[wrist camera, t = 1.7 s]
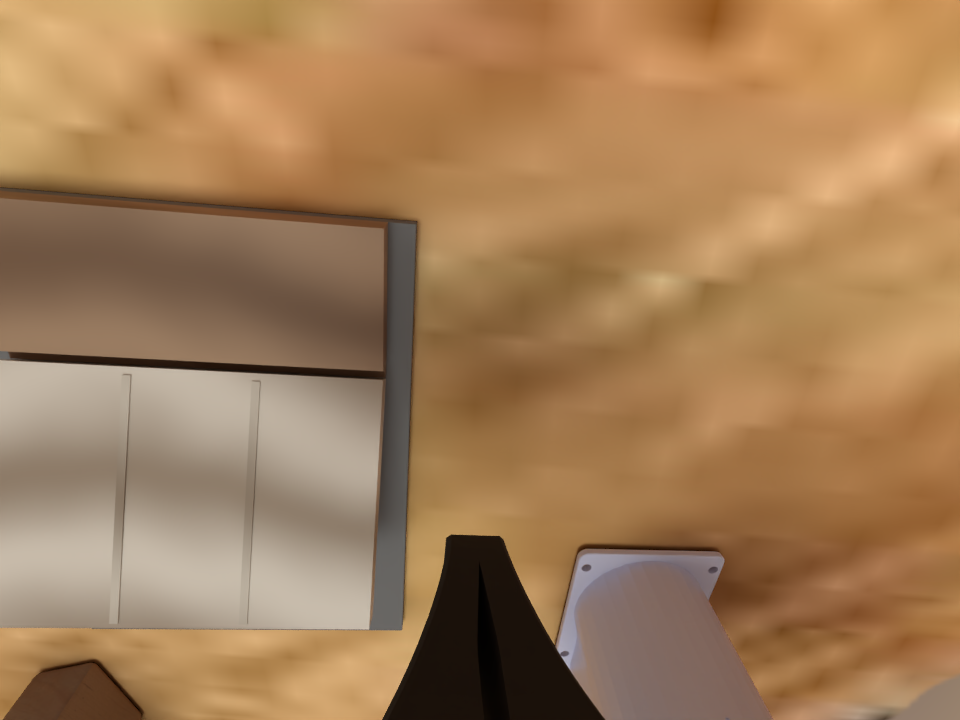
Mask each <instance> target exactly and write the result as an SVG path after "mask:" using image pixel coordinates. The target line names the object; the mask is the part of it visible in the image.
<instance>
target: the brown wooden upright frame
mask: <svg viewBox="0 0 960 720" xmlns="http://www.w3.org/2000/svg"><path fill="white" fill-rule="evenodd" d="M141 717H142V715H141V713H140V712H139V711H138V709H137V708H136V707H135V706H134V705H133V704H132V703H131V702H130V701H129V699H128V698H127V697H126V696H125V695H124V694H123V693H122V692H121V691H120V689H119V688H118V687H117V686H116V685H115V684H114V683H113V682H112V681H111V679H110V678H109V677H108V676H107V675H106V674H105V673H104V672H103V671H102V669H101V668H100V667H99V666H98V665H97V664H95V663H86V664H81V665H76V666H71V667H66V668H61V669H56V670H52V671H47V672H42V673H39V674H38V675H36V676H35V677H34V678H33V680H32V681H31V682H30V684H29V685H28V686H27V688H26V689H25V690H24V692H23V693H22V694H21V696H20V697H19V698H18V700H17V701H16V702H15V704H14V705H13V707H12V708H11V709H10V711H9V712H8V713H7V715H6V716H5V717H4V719H3V720H141Z"/></svg>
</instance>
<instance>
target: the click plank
mask: <svg viewBox="0 0 960 720" xmlns="http://www.w3.org/2000/svg"><path fill="white" fill-rule="evenodd" d="M385 387H386V378H369V377H349V376H330V375H311V374H291V373H272V372H253V371H234V370H214V369H195V368H176V367H156V366H137V365H118V364H98V363H79V362H60V361H41V360H21V359H3V360H0V628H167V629H361V630H369V628H370V624H371V619H372V615H373V603H374V585H375V567H376V549H377V531H378V513H379V495H380V477H381V459H382V441H383V423H384V405H385Z"/></svg>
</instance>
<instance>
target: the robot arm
mask: <svg viewBox="0 0 960 720" xmlns="http://www.w3.org/2000/svg"><path fill="white" fill-rule="evenodd" d="M724 561H725V560H724V558H723V556H722V555H721V553H719V552H715V551H670V550H622V549H584V550H582V551H580V552H579V553H578V555H577V559H576V563H575V567H574V572H573V576H572V580H571V584H570V588H569V592H568V597H567V601H566V605H565V609H564V613H563V617H562V622H561V626H560V630H559V634H558V638H557V642H556V647H555V645H554V644H553V642H552V640H551V639H550V637H549V635H548V634H547V632H546V630H545V628H544V627H543V625H542V623H541V621H540V619H539V618H538V616H537V614H536V612H535V610H534V608H533V606H532V604H531V602H530V600H529V598H528V596H527V594H526V592H525V590H524V588H523V586H522V584H521V582H520V580H519V577H518V575H517V573H516V571H515V569H514V566H513V564H512V561H511V559H510V556H509V554H508V551H507V549H506V546H505V543H504V540H503V539H502V538H501V537H500V536H477V535H450V536H449V537H447V538H446V547H445V558H444V565H443V569H442V573H441V577H440V581H439V585H438V588H437V591H436V595H435V598H434V601H433V604H432V607H431V610H430V613H429V616H428V619H427V621H426V624H425V627H424V629H423V632H422V634H421V637H420V640H419V642H418V645H417V647H416V650H415V652H414V654H413V657H412V659H411V661H410V664H409V666H408V668H407V670H406V672H405V675H404V677H403V679H402V681H401V683H400V685H399V687H398V690H397V692H396V693H395V695H394V697H393V699H392V701H391V703H390V705H389V707H388V709H387V711H386V713H385V715H384V717H383V719H382V720H773V718H772V716H771V714H770V713H769V711H768V709H767V707H766V705H765V703H764V702H763V700H762V698H761V696H760V694H759V692H758V691H757V689H756V687H755V685H754V683H753V681H752V680H751V678H750V676H749V674H748V672H747V670H746V669H745V667H744V665H743V663H742V661H741V659H740V658H739V656H738V654H737V652H736V650H735V648H734V647H733V645H732V643H731V641H730V639H729V637H728V636H727V634H726V632H725V630H724V628H723V626H722V625H721V623H720V621H719V619H718V617H717V615H716V614H715V612H714V610H713V608H712V606H711V604H710V603H709V601H708V600H709V598H710V596H711V593H712V591H713V589H714V586H715V584H716V581H717V579H718V577H719V574H720V572H721V569H722V567H723V565H724ZM586 564H587V565H586Z"/></svg>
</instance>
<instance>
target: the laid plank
mask: <svg viewBox="0 0 960 720" xmlns="http://www.w3.org/2000/svg"><path fill="white" fill-rule="evenodd" d="M387 261H388V222H380V221H367V220H355V219H342V218H330V217H318V216H305V215H293V214H281V213H268V212H256V211H243V210H231V209H219V208H206V207H194V206H182V205H169V204H157V203H145V202H132V201H120V200H107V199H95V198H83V197H70V196H58V195H46V194H33V193H21V192H8V191H0V351H8V354H9V356H10V358H13V359H33V360H52V361H71V362H90V363H110V364H129V365H148V366H168V367H187V368H206V369H225V370H245V371H264V372H283V373H302V374H322V375H341V376H360V377H379V378H385V377H386V358H387Z"/></svg>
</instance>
